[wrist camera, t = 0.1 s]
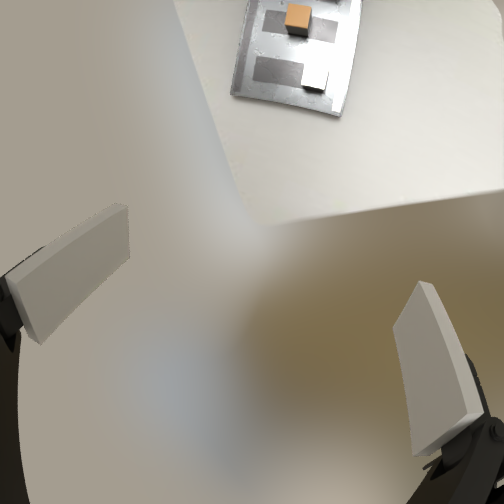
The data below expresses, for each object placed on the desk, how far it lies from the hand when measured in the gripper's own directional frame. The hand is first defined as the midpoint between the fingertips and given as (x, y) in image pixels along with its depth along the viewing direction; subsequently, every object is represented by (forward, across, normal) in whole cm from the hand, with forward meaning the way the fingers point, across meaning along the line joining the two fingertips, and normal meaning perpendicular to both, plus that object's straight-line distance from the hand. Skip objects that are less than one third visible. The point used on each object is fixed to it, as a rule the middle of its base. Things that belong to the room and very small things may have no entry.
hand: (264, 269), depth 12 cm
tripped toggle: (+26, -3, +18) cm, 32 cm away
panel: (+28, -3, +18) cm, 33 cm away
